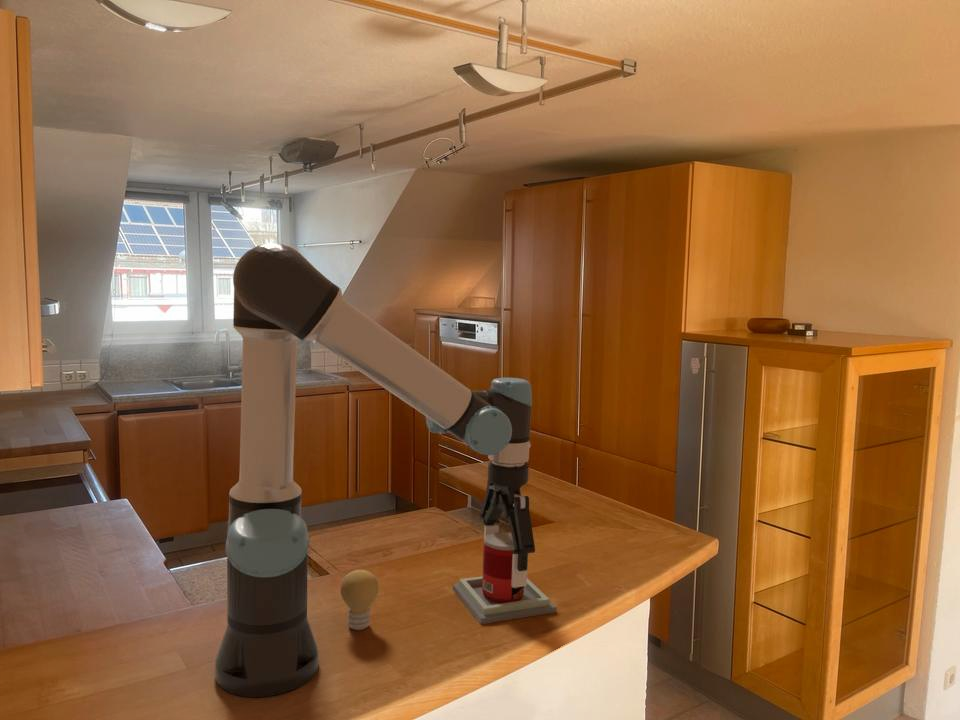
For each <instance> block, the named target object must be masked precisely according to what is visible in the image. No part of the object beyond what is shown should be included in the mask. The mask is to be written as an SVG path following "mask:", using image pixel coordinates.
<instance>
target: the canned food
mask: <svg viewBox="0 0 960 720" xmlns="http://www.w3.org/2000/svg"><path fill="white" fill-rule="evenodd" d="M513 550H515V547H514V542H513V538H512V534H511V532H505V531H504V532H503V531H502V532H500V531H498V533H492V534H489V535H487V536H485V538H484V537H483V554H482V555H483V556H482V557H483V558H482V576H483V581H482V591H483V595H484V596H485V597H486V598H487V599H488V600H490V601H493V602H497V603H509V602H516V601H519V600H520V599H521V598H522V596H523V593H524V586H522V587H515V588H513V587H512V586H511V582H512V560H513V554H512V551H513Z"/></svg>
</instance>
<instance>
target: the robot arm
mask: <svg viewBox="0 0 960 720" xmlns="http://www.w3.org/2000/svg"><path fill="white" fill-rule="evenodd" d="M232 281H233V282H232V283H233V288H234V289H233V321H232V322H233V328H234V330H235V331H236V332H237V333H239V335H240V336H241V338H242V359H241V361H242V362H241V396H240V397H241V398H240V399H241V400H240V401H241V402H240V403H241V404H240V406H241V407H240V439H239V440H240V442H239V443H240V444H239V477H238V478H239V480H238V482H236V484H235V485H233V486H232V487H231V488H230V490H229V495H228V496H229V497H228V499H229V500H228V520H227V527H226V528H227V536H226V537H227V538H226V540H225V554H226V579H227V580H226V584H227V585H226V586H227V587H226V594H227V595H226V599H227V601H226V602H227V603H226V604H227V606H226V609H227V614H226V616H227V624H226V629H225V631H224V634H223V637H222V640H221V642H220V646H219V648H218V652H217V655H216V657H215V661H214V662H215V663H214V664H215V666H214V673H215V675H214V676H215V681H216V683H217V684H218V686H219V687H220V688H221V689H222V690H224V691H226V692H228V693H229V694H233V695H236V696H241V697H248V698H249V697H251V698H264V697H270V696H271V697H272V696H276V695H280V694H285V693H288V692H291V691H293V690H296V689H297V688H300V687H301V686H303V685H304V684H306V683H308V681H310V680H311V679H312V678H313V677H314V675H315V674H316V672H317V671H318V668H319V648H318V645H317V641H316V639H315V637H314V633H313V630H312V628H311V625H310V621H309V619H308V558H309V557H308V553H309V552H308V551H309V547H310V537H309V532H308V526H307V524H306V522H305V521H304V519H303V518H302V517H301V516H302V493H303V492H302V491H303V490H302V488H301V487H300V485H299V484H298V483H296V481H295V480H294V453H295V451H294V449H295V425H296V423H295V421H296V419H295V418H296V390H297V365H298V364H297V363H298V340H301V341H302V342H307V341H314V342H316V343H317V344H318V345H321V346H322V347H323V348H325V349H326V350H328V351H329V352H331V353H332V354H333V355H335V356H336V357H338V358H339V359H341V360H342V361H344V362H345V363H347V364H349V365H350V366H351V367H352V368H354V369H356V370H357V371H358V372H359V373H362V374H363V376H366V377H367V378H369V379H371V380H372V381H373V382H375V383H377V384H378V385H379V386H381V387H383V388H384V389H385V390H387V391H388V392H390V393H391V394H392V395H394V396H395V397H397V398H399V399H400V400H401V401H403V402H404V403H405V404H407V405H409V406H410V407H412V408H413V409H415V410H417V412H419V413H420V414H422V415H423V416H425V422H426V426H427V429H428V430H429V432H431V433H432V434H443V435H446V434H451V435H452V436H454V437H455V438H456V439H458V440H460V441H461V442H463V443H464V444H465V445H467V446H468V448H469V449H471V450H473V451H474V452H476V453H478V454H481V455H485V456H488V457H487V458H488V460H489V462H487V463H488V465H487V466H488V468H487V482H486V483H487V485H486V490H485V493H484V497H483V501H482V505H481V508H480V512H479V518H480V519H482V523H483V525H484V528H483V529H484V532H483V539H484V538H485V536H487V535H489V534H492V533H498V532H499V529H500V527H499V525H498V524H500V517H501V515H502V514H504V518H506V519H507V521H508V525H509V529H510V530H509V531H510V533H511V534H512V538H513V542H514V547H515V550H513V551H512V554H513V560H512V582H511V586H512V587H513V588H515V587H522V586H527V578H528V566H529V565H528V563H529V554H533V553H535V552H536V545H535V539H534V534H533V533H534V532H533V525H532V521H531V513H530V497H529V496H528V495H523V496H522V493H521V488H522V487H523V486H525V485H527V483H528V482H529V469H530V465H529V464H528V461H529V459H530V458H529V457H530V448H531V446H532V443H531V442H530V440H531V421H532V409H533V408H532V407H533V392H532V385H531V382H530V381H528V380H527V379H524V378H518V377H497V378H494V379H493V380H491V385H490V388H489V389H485V390H484V389H483V390H471V389H469V388H468V387H467V386H466V385H464V384H463V383H461V382H460V381H458V379H456V378H454V377H453V376H452V375H450V374H449V373H447V372H446V371H445V370H444V369H442V368H440V367H439V366H438V365H436V364H435V363H433V362H432V361H431V360H429V359H428V358H426V357H425V356H423V355H422V354H421V353H420V352H418V351H417V350H415V349H414V348H412V347H411V346H410V345H408V344H407V343H406V342H404V341H403V340H401V339H400V338H398V336H395V335H394V334H393V333H391V332H390V331H389V330H387V329H386V328H385V327H384V326H382V325H380V324H379V323H378V322H376V321H375V320H373V319H372V318H371V317H369V316H368V315H367V314H365V313H364V312H362V311H361V310H359V309H358V308H357V307H355V306H354V305H353V304H351V303H350V302H348V301H347V300H346V299H345V298H343V291H342V288H340V287H339V286H337V284H334V282H332V281H331V280H329V278H327V277H326V276H325V275H323V274H322V273H321V272H320V270H318V269H317V268H316V267H315V266H314V265H313V264H312V263H310V261H309V260H307V258H305V257H304V255H302V254H301V253H300V252H299V251H298V250H296V249H295V248H293V247H291V246H288V245H285V244H282V243H276V242H272V243H269V242H268V243H264V244H259V245H257V246H254V247H252V248H251V249H249V250H247V251H246V252H245V253H244V254H243V255H242V256H241V257H240V258H239V260H238V261H237V263H236V266H235V267H234V270H233V277H232Z"/></svg>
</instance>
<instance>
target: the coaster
mask: <svg viewBox="0 0 960 720" xmlns="http://www.w3.org/2000/svg"><path fill="white" fill-rule="evenodd" d="M458 581H459V582H456V583H452V590H453V591H454V593H455V594H456V595H457V597H459V599H460V600H461V601H462V603H463V604H464V606H466V607H467V609H468V611H469V612H471V614H472V615H473V616H474V618H475V619H476V620H477V621H478V623H479V624H480V625H485V624H490V623H496V622H503V621H508V620H516V619H521V618H527V617H535V616H542V615H547V613H548V614H553V613H554V612H555V613H557V606H556V605H555V604H554V603H553V602H552V601H551V599H550V598H549V597H548V596H547V595H545V593H544V592H542V590H541V589H539V588H538V587H537V586H536V584H534V583H533V582H532V581H531V580H530V579H529V578H528V577H527V586H524V593H523V596H522V598H521V599H520V600H519V601H516V602H509V603H497V602H493V601H490V600H488V599H487V598H486V597H485V596H484V595H483V591H482V581H483V575H481V576H476V577H475V576H474V577H466V578H460V579H459V580H458ZM555 613H554V614H555Z"/></svg>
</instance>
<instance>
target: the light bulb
mask: <svg viewBox="0 0 960 720" xmlns="http://www.w3.org/2000/svg"><path fill="white" fill-rule="evenodd" d="M378 593H379V582H378V579H377V577H376V576H375V575H374V574H373V573H372V572H370V571H368V570H365V569H356V570H352V571H350V572H348V574H347V573H346V575H345V576H344V577H343V579H342V581H341V583H340V595H341V598H342V601H343V602H344V604H345V605H346V606H347V607H348V609H347V614H348V615H347V625H348V627H350V629H352V630H354V631H361V630H362V631H363V630H366V628H367V627H369V626H370V623H371V620H370V618H371V614H370V613H371V608H370V606H372V604H373V603H374V602H375V600H376V598H377V597H378Z"/></svg>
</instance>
